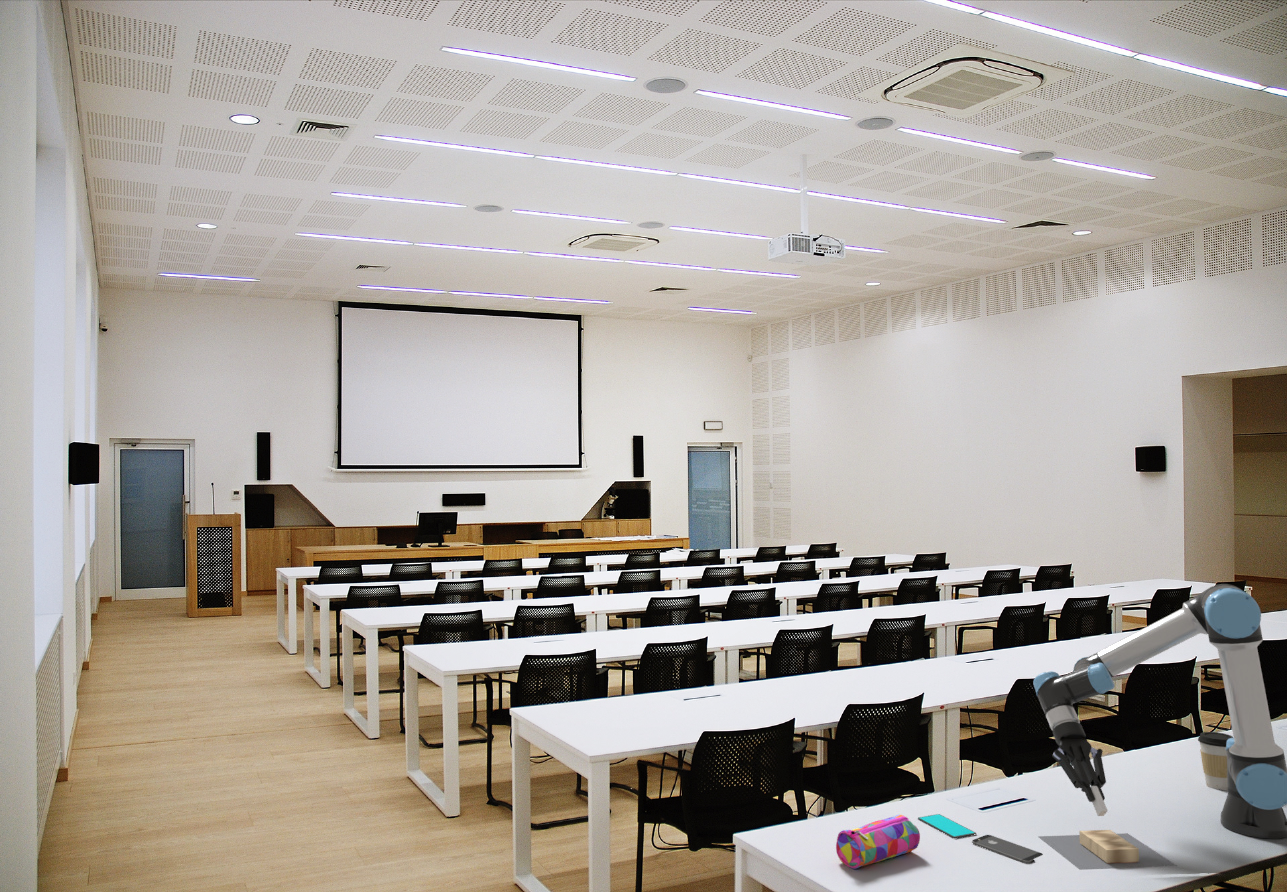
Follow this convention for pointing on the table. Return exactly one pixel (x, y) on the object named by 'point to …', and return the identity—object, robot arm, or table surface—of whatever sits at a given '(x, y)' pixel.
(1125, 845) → the oak block
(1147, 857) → the rubber mat
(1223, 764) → the coffee cup
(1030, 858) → the phone
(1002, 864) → the table surface
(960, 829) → the smartphone
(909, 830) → the pencil case
